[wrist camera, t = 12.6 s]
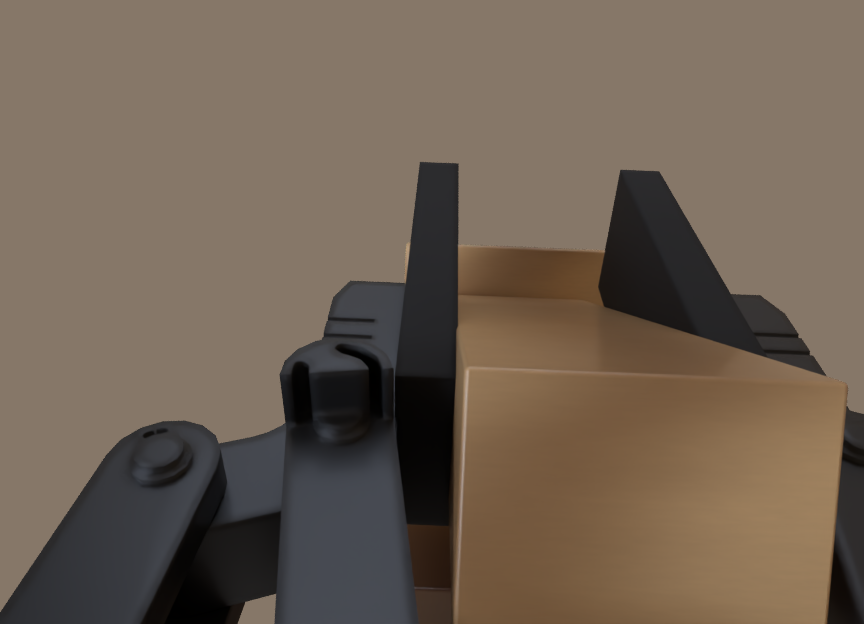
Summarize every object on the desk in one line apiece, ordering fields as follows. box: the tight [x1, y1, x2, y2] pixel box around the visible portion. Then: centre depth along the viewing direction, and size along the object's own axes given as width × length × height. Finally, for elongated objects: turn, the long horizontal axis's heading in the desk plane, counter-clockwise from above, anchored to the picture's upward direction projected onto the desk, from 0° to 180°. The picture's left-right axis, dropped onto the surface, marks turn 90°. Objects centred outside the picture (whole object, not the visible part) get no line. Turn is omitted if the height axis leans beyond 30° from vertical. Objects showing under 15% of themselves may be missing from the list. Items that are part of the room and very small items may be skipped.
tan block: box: [405, 242, 848, 624], centre depth 16 cm, size 5×20×4 cm, turn 179°
